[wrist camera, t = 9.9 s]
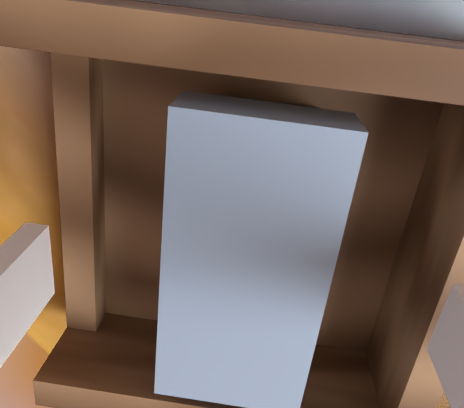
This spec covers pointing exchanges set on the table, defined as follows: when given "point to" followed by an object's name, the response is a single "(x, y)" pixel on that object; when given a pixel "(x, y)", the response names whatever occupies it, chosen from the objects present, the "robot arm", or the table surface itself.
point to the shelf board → (249, 244)
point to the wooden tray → (153, 176)
